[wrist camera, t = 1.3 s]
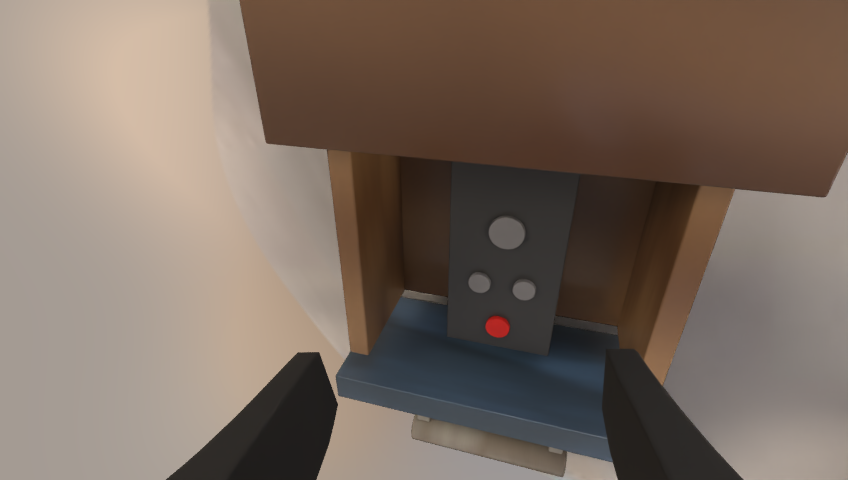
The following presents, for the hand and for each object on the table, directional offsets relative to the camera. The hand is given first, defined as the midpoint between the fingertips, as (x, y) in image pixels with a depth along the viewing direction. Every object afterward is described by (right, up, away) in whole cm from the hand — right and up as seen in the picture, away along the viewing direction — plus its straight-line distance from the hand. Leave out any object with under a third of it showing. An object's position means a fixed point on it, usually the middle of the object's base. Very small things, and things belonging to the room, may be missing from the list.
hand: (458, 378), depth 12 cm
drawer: (+3, +3, +9) cm, 10 cm away
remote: (+3, +4, +7) cm, 8 cm away
